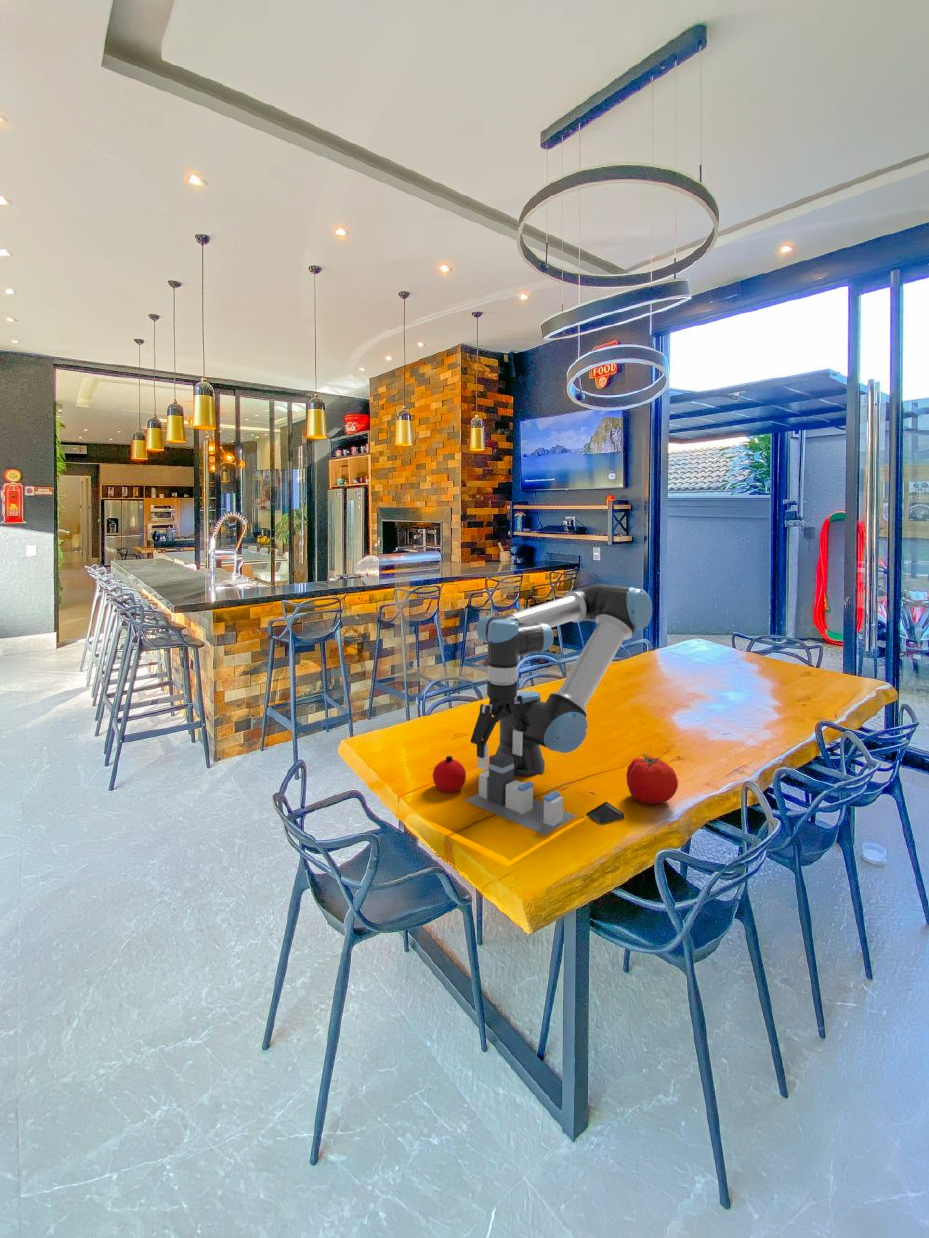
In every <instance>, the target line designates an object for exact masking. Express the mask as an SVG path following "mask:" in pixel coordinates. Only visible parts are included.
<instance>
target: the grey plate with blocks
mask: <svg viewBox="0 0 929 1238" xmlns="http://www.w3.org/2000/svg"><path fill="white" fill-rule="evenodd" d="M464 801H465V802H468V803H469V804H471V805H473V806H476V807H479V808H481V809H483V810H486V811H488V812H490V813H492V814H494V815H497V816H499V817H501V818H504V819H507V820H509V821H510V822H512V823H513V822H514V823H516V824H518V825H520V826H522V827H524V828H526V829H529V830H532V831H534V832H537V833H539V834H541V835H543V836H546V835H549V834H550V833H551V832H553V831H554V830H556V829H559V827H561V826H563V825H565V824H566V823H568V822H569V821H571V820H573V819H574V818H576V817H577V815H576V814H573V813H571V812H568V811H565V810H564V797H562V796H561V793H560V792H557V791H556V790H554V791H552V792H550V793H548V794H545V795H544V796H543V802H542V801H539V800H536V799H535V798H534V782H531V781H530V780H529V781H527V782H522V781H519V780H518V779H517V780H516V779H515V780H514V781H513V782H511V783H508V784H506V804H505V805H503V806H501V805H498V804H496V803H493V802H491V801H489V769H488V770H486V771H484V772H481V773H479V774H478V793H477V794H474V795H472V796H470V797H468V798H466V799H464ZM561 829H562V828H561ZM561 829H559V831H560V830H561ZM547 838H549V837H547Z"/></svg>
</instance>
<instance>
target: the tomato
mask: <svg viewBox="0 0 929 1238" xmlns="http://www.w3.org/2000/svg"><path fill="white" fill-rule="evenodd" d="M642 756H643V758H640V757H639V758H638V757H637V758H634V759H632V760H631V762H630V764H628V766H627V770H626V785H627V788H628V790H629V793H630V795H631V796H632V797H633V799H634V800H635V801H637V802H639V803H644V804H649V805H655V804H665V803H667V802H668V801H669V800H670V799H672V798H673V796H675V794H676V792H677V791H678V788H679V787H678V785H679V780H678V777H677V774H676V773H677V772H675V770H674V768H673V767H671V766H670V765H669V764H668V763H666V762H664V761H663V760H662V759H660V758H661V756H659V757H653V756H646V755H645V754H644V753H642Z"/></svg>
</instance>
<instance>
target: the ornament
mask: <svg viewBox="0 0 929 1238" xmlns="http://www.w3.org/2000/svg"><path fill="white" fill-rule="evenodd" d="M466 779H467V772H466V770H465V767H464V766H463V764H462V763H461V762H460V761H458V760H456V759H454V758H453V756H452V755H448V756H446V757H445V759H442V760H440V761H439V762H438V763H437V764H436V766H435V767H434V769H433V772H432V780H433V783H434V785H435V787H436V788H437V789H438V790H439V791H440V792H443V793H448V794H449V793H457V792H458V791H460V790H461V789H462V788H463V786H464V785H465V782H466Z"/></svg>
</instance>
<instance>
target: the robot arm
mask: <svg viewBox="0 0 929 1238" xmlns="http://www.w3.org/2000/svg"><path fill="white" fill-rule="evenodd" d="M652 615H653V602H652V599H651V597H650V595H649V593H647V592H646V591H645V590H644V589H642V588H636V587H634V586H633V587H632V586H631V587H625V586H620V585H619V586H618V585H609V584H593V585H589V586H586V587H582V588H581V587H580V588H579V589H575V590H571V591H569V592H567V593H565V594H564V595H563V597H560V598H556V599H554V600H551V601H547V602H544V603H541V604H537V605H533V606H531V607H528V608H525V609H521V610H517V611H515V612H512V613H508V614H504V615H501V616H495V615H486V616H483V617H482V618H480V619H479V621H478V623H477V626H476V634H477V635H476V636H477V637H478V639H479V640H480V641H482V642H484V643H486V644H487V680H488V682H486V684H487V685H486V695H487V697H488V699H489V701H488V702H489V703H488V704H484V703H481V704H480V707H479V713H478V717H477V720H476V722H475V726H474V727H473V728H474V729H473V733H472V735H471V737H470V743H472V744H474V745H475V746H476V757H477V769H480V770H483V771H484V772H486V771H488V770H489V744H487V742H488V741H489V738H490V736H491V734H492V732H493V731H494V729H495V727H496V725H497V724H498V723H499V744H498V746H497V749H496V752H495V754H497V753H500V752H502V753H505V754H508V755H510V756H513V757H514V777H531V776H536V775H538V776H541V775H543V774H544V772H545V771H546V770H545V769H546V768H545V767H546V765H545V762H546V761H545V758H544V757H543V756H544V755H543V753H542V749H541V747H543V748H547V749H548V750H550V751H553V752H558V753H562V754H568V753H571V752H573V751H575V750H577V749H578V748H579V747H580V746H581V745H582V743H583V742H584V740H585V739H586V736H587V733H588V731H587V729H588V720H587V716H588V713H587V710H586V707H587V705H588V703H589V701H590V700H591V698H592V696H593V694H594V693H595V691H596V689H597V688H598V686H599V684H600V682H601V680H602V678H604V675H605V674H606V672H607V671H608V670H607V669H608V668H609V666H610V664H611V663H612V662H613V659H614V658H615V656H616V654H617V652H618V651H619V649H620V647H621V646H622V643H623V642H624V641H627V640H630V639H631V638H632V637H633V635H634V633H635V631H636V630H638V631H640V630H645V629H646V628H647V627H648V626H649V624H650V623H651V620H652ZM586 621H587V622H588V621H589V622H595V623H596V627H595V629H594V630H593V632H592V634H591V635H590V637H589V638H588V640H587V642H586V643H585V645H584V647H583V648H582V650H581V652H580V654H579V656H578V657H577V659H576V661H575V662H574V664H573V666H572V667H571V669H570V671H569V672H568V674H567V676H566V678H565V679H564V681H563V683H562V684H561V687H560V688H559V689H558V691H555V692H551V693H550V694H549V696H548V697H547V699H546V700H545V702H544V701H541V699H542V696H541V695H540V692H538V691H533V690H519V691H518V683H517V680H518V668H519V667H518V662H519V661H518V659H519V657H520V656H524V655H525V656H526V655H531V654H536V653H537V654H539V653H541V652H545V651H548V650H549V649H551V647H552V646H553V644H554V637H555V635H554V631H553V630H552V628H554V627H558V626H561V625H564V624H566V623H570V622H572V623H580V622H586Z"/></svg>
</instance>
